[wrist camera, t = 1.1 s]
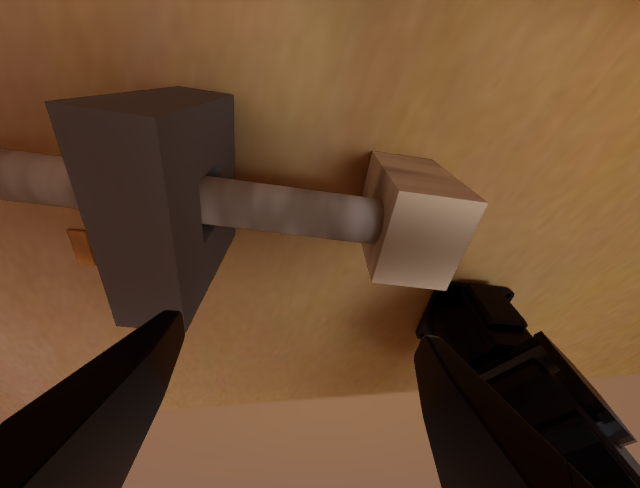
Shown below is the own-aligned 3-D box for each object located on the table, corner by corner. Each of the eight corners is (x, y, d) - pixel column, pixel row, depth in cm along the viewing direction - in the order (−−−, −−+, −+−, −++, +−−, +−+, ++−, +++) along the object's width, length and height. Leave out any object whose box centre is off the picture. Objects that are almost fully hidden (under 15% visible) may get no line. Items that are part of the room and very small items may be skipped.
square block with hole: (235, 234, 21) (185, 332, 13) (192, 229, 20) (116, 326, 13) (233, 95, 16) (155, 117, 8) (178, 86, 16) (44, 101, 8)
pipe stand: (386, 294, 24) (408, 368, 18) (-81, 245, 21) (-235, 313, 15) (432, 159, 18) (488, 203, 12) (-203, 66, 16) (-528, 64, 10)
